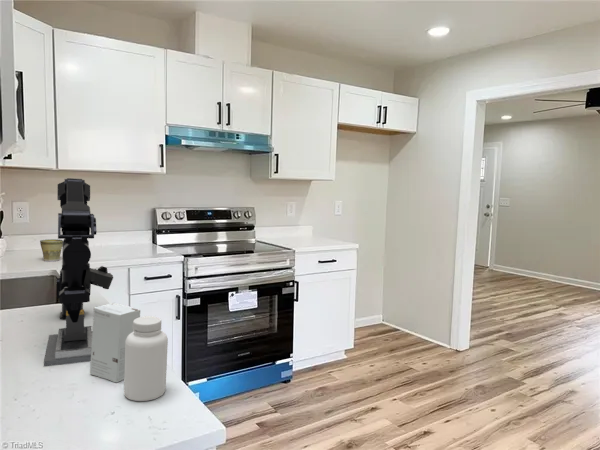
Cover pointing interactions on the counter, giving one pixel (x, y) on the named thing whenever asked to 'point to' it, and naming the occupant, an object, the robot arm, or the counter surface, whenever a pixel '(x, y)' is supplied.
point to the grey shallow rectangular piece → (68, 349)
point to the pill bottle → (145, 360)
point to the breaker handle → (75, 328)
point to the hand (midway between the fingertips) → (74, 322)
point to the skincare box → (111, 340)
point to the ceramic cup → (51, 249)
